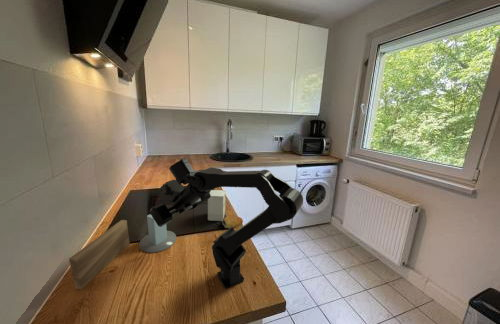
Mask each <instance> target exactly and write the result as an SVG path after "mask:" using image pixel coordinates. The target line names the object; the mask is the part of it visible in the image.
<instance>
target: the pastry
mask: <svg viewBox="0 0 500 324" xmlns="http://www.w3.org/2000/svg"><path fill="white" fill-rule="evenodd" d="M221 222H222V226H224V228H225V229H228V230H229V229H230V228H231V227H233V229H234V228H237V227H239V226H240V227H241V226H242V224H243V223H244V221H243V218H242V217H240V216H234V215H233V216H232V215H229V216H224V218H223V219H222V221H221Z"/></svg>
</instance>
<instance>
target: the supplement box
mask: <svg viewBox="0 0 500 324" xmlns="http://www.w3.org/2000/svg"><path fill="white" fill-rule="evenodd" d="M209 191H210V196H211V197H210V198H209V199H207V220H208V221H212V222H213V221H215V222H222V219H223V218H225V214H226V190H221V189H219V190H218V189H217V190H215V189H211V190H209Z"/></svg>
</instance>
